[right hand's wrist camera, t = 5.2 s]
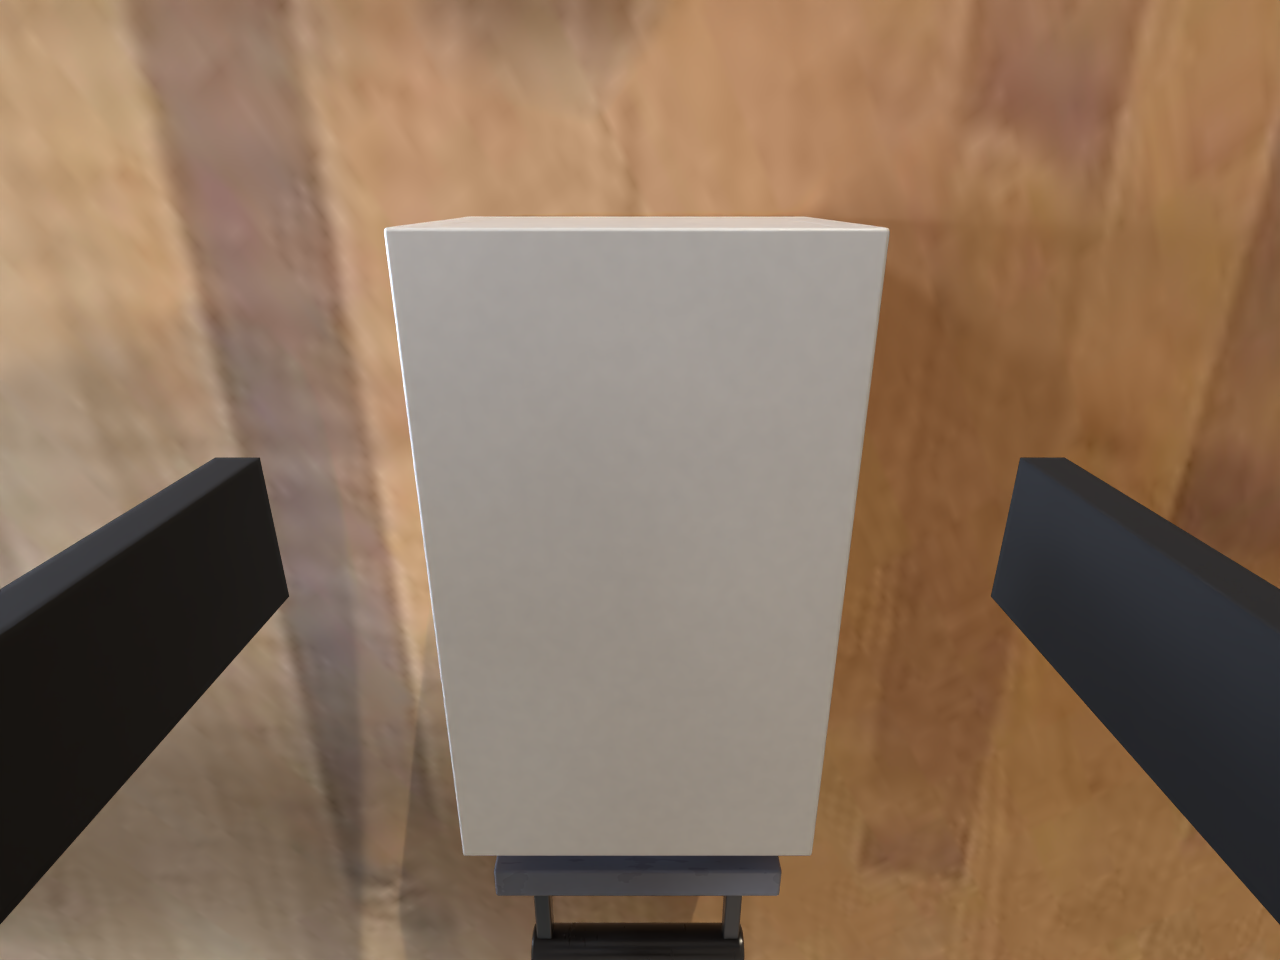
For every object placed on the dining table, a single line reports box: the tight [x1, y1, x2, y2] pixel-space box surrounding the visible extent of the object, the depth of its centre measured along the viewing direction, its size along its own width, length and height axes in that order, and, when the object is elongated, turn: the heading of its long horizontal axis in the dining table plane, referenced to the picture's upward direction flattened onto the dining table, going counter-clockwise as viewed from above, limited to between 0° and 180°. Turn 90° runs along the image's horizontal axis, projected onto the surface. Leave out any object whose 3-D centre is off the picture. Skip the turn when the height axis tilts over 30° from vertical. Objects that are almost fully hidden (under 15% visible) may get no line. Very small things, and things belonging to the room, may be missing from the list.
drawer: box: [494, 856, 781, 960], centre depth 25 cm, size 23×10×6 cm, turn 0°
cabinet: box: [384, 217, 890, 856], centre depth 22 cm, size 18×11×8 cm, turn 0°
